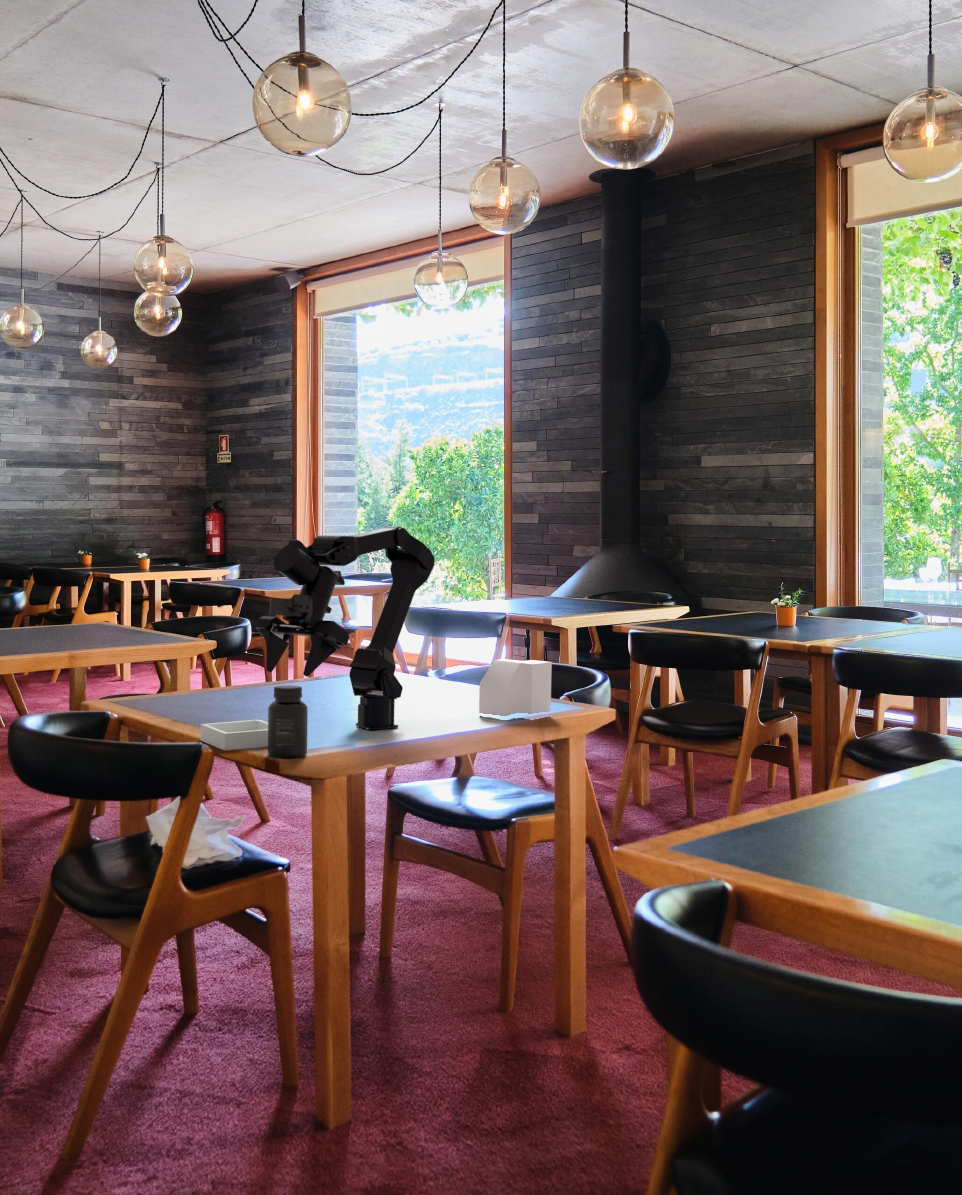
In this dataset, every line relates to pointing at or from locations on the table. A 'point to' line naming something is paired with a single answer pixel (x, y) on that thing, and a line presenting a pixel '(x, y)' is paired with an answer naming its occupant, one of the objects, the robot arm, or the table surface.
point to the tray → (236, 734)
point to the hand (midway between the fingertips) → (286, 673)
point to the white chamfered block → (516, 687)
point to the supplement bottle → (287, 723)
